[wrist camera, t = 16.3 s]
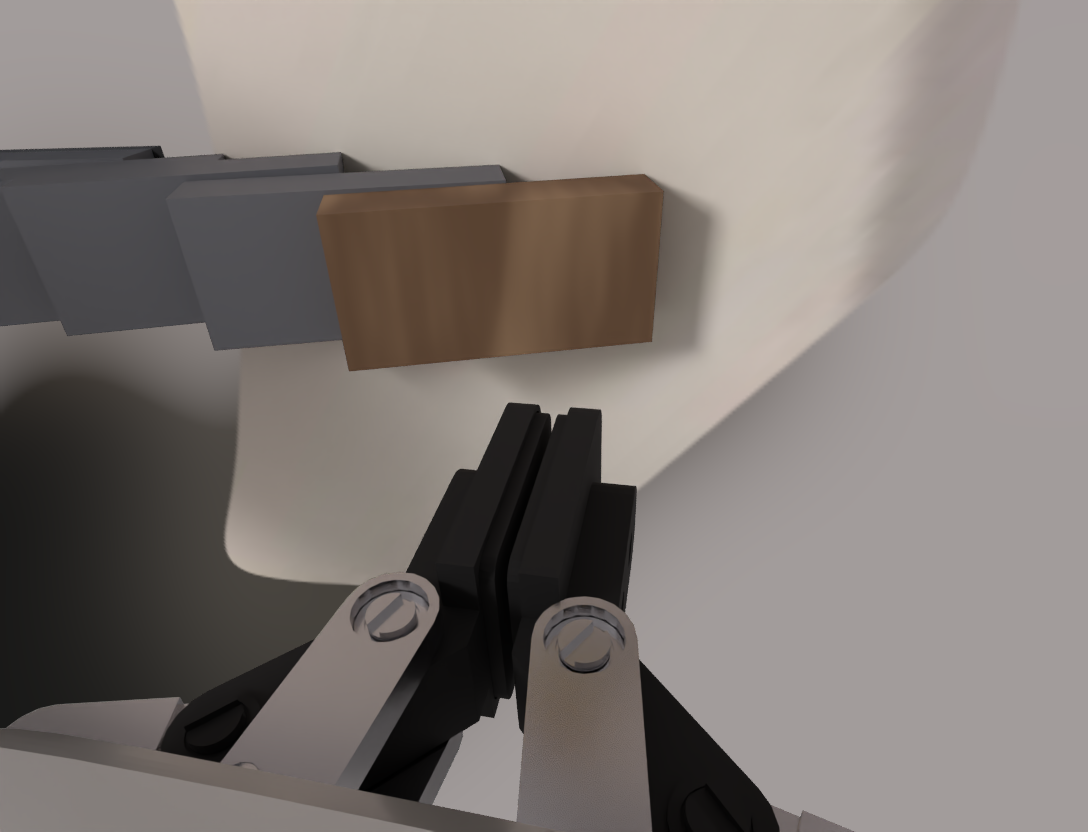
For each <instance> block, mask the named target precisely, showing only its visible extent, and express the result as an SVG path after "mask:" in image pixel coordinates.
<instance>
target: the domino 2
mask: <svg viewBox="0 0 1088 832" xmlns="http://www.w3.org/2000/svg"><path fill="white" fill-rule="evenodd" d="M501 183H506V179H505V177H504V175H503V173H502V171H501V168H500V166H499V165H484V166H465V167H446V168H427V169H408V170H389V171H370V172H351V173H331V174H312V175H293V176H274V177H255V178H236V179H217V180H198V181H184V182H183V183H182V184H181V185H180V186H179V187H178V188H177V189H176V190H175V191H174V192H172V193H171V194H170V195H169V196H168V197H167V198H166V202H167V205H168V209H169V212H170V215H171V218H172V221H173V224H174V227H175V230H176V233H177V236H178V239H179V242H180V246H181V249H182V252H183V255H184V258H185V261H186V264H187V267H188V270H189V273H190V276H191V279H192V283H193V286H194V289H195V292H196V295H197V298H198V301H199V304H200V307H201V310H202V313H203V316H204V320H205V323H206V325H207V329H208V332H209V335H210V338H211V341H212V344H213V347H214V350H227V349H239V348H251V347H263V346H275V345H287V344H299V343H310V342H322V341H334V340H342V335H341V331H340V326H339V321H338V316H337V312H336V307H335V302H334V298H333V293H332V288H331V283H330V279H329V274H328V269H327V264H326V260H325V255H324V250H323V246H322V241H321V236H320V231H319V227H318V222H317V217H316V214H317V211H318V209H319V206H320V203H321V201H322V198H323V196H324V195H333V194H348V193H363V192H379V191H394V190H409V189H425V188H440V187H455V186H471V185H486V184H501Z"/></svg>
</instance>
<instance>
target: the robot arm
mask: <svg viewBox="0 0 1088 832" xmlns="http://www.w3.org/2000/svg"><path fill="white" fill-rule="evenodd" d="M601 436H602V414H601V410H597V409H585V408H572V407H571V408H570V409H569V412H568V415H560V414H559V415H558V416H557V418H556V421H555V424H554V427H553V430H552V433H551V417H550V414H548V413H541V410H540V406H539V405H535V404H522V403H508V404H507V406H506V408H505V410H504V412H503V414H502V417H501V419H500V421H499V423H498V425H497V428H496V430H495V432H494V434H493V436H492V439H491V441H490V443H489V445H488V447H487V449H486V452H485V454H484V456H483V458H482V460H481V463H480V465H479V467H478V469H477V470H468V469H459V470H458V471H457V472H456V473H455V475H454V476H453V478H452V480H451V482H450V484H449V486H448V488H447V490H446V492H445V494H444V496H443V498H442V500H441V503H440V505H439V507H438V509H437V511H436V513H435V515H434V517H433V519H432V521H431V523H430V525H429V527H428V529H427V531H426V533H425V535H424V537H423V539H422V541H421V543H420V545H419V547H418V549H417V551H416V553H415V555H414V557H413V559H412V561H411V563H410V565H409V567H408V569H407V571H406V573H404V572H396V573H388V574H383V575H380V576H378V577H375V578H372V579H370V580H368V581H367V582H365V583H363V584H362V585H360V586H358V587H357V588H356V589H355V590H354V591H353V592H352V593H351V594H350V595H349V596H348V597H347V598H346V600H345V601H344V602H343V604H342V605H341V606H340V608H339V609H338V610H337V611H336V613H335V614H334V615H333V617H332V618H331V619H330V621H329V622H328V623H327V624H326V626H325V627H324V628H323V630H322V631H321V632H320V634H319V635H318V636H317V637H316V639H314V640H312V641H310V642H308V643H306V644H303V645H302V646H300V647H297V648H295V649H294V650H291V651H289V652H287V653H285V654H283V655H281V656H279V657H277V658H275V659H273V660H271V661H269V662H267V663H265V664H262V665H260V666H258V667H256V668H254V669H252V670H250V671H248V672H246V673H244V674H242V675H240V676H238V677H236V678H234V679H232V680H230V681H228V682H225V683H223V684H221V685H219V686H217V687H215V688H213V689H211V690H209V691H207V692H206V693H204V694H202V695H201V696H199V697H198V698H196V699H194V700H193V701H191V702H190V703H189V704H183V702H182V700H181V699H180V697H174V698H158V699H141V700H124V701H109V702H92V703H75V704H59V705H53V706H49V707H44V708H39V709H37V710H35V711H33V712H31V713H29V714H27V715H25V716H23V717H21V718H19V719H18V720H16V721H15V722H14V723H12V724H11V725H10V726H9V727H7V728H6V729H2V728H1V729H0V832H854V831H851V830H849V829H847V828H844V827H842V826H839V825H837V824H834V823H832V822H830V821H827V820H825V819H822V818H820V817H817V816H815V815H813V814H810V813H808V812H805V811H802V814H801V816H800V817H798V816H796V815H793V814H791V813H789V812H786V811H784V810H782V809H779V808H777V807H774V806H772V805H770V804H769V802H768V801H767V799H766V798H765V797H764V795H763V794H762V792H761V791H760V790H759V788H758V787H757V786H756V785H755V784H754V783H753V782H752V781H751V780H750V779H749V778H748V776H747V775H746V774H745V773H744V772H743V771H742V770H741V769H740V768H739V767H738V766H737V765H736V764H735V763H734V761H732V759H731V758H730V757H729V756H728V755H727V754H726V753H725V752H724V751H723V749H721V747H720V746H719V745H718V744H717V743H716V742H715V741H714V740H713V739H712V738H711V737H710V735H709V734H708V733H707V732H706V731H705V730H704V729H703V728H702V727H701V726H700V725H699V724H698V722H697V721H696V720H695V719H694V718H693V717H692V716H691V715H690V714H689V713H688V712H687V711H686V710H685V708H684V707H683V706H682V705H681V704H680V703H679V702H678V701H677V700H676V699H675V698H674V697H673V695H671V693H670V692H669V691H668V690H667V689H666V688H665V687H664V686H663V685H662V684H661V683H660V682H659V680H658V679H657V678H656V677H655V676H654V675H653V674H652V673H651V672H650V671H649V670H648V668H647V667H646V666H645V665H644V664H643V663H642V662H641V661H640V660H639V653H638V640H637V635H636V631H635V628H634V625H633V623H632V622H631V621H630V619H629V617H628V616H627V615H626V613H625V608H626V601H627V593H628V585H629V577H630V570H631V561H632V552H633V541H634V530H635V514H636V513H635V512H636V493H637V489H636V486H628V485H618V484H608V483H601ZM514 686H515V690H516V699H517V710H518V720H519V728H520V730H521V731H522V733H523V734H524V737H523V750H522V762H521V774H520V775H521V776H520V787H519V799H518V812H517V822H514V821H509V820H504V819H499V818H494V817H489V816H484V815H480V814H474V813H470V812H465V811H460V810H455V809H450V808H445V807H440V806H435V805H432V804H433V802H434V800H435V798H436V796H437V794H438V791H439V789H440V787H441V785H442V783H443V781H444V779H445V777H446V775H447V773H448V771H449V768H450V767H451V764H452V762H453V760H454V758H455V756H456V754H457V752H458V750H459V747H460V744H461V740H462V737H463V730H465V729H467V728H468V727H470V726H472V725H473V724H475V723H476V722H478V721H479V719H480V716H486V717H491V718H494V716H495V713H496V710H497V706H498V703H499V699H500V698H504V699H510V698H511V696H512V693H513V689H514Z"/></svg>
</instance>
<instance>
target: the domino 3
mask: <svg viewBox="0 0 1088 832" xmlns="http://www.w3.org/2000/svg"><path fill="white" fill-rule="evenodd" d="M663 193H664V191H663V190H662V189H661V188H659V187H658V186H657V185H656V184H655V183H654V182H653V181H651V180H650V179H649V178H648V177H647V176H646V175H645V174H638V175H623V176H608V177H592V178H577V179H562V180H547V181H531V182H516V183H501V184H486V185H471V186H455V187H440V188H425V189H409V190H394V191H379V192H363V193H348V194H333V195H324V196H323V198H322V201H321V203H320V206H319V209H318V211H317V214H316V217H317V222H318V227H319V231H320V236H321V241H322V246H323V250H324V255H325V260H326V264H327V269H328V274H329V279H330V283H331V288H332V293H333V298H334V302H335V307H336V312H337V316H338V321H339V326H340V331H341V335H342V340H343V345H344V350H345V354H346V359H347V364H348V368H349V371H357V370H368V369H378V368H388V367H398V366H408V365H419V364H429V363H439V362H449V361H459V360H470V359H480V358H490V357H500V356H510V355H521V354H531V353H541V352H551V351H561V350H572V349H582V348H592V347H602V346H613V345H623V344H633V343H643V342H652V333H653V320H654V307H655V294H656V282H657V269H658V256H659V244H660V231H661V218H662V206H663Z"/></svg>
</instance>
